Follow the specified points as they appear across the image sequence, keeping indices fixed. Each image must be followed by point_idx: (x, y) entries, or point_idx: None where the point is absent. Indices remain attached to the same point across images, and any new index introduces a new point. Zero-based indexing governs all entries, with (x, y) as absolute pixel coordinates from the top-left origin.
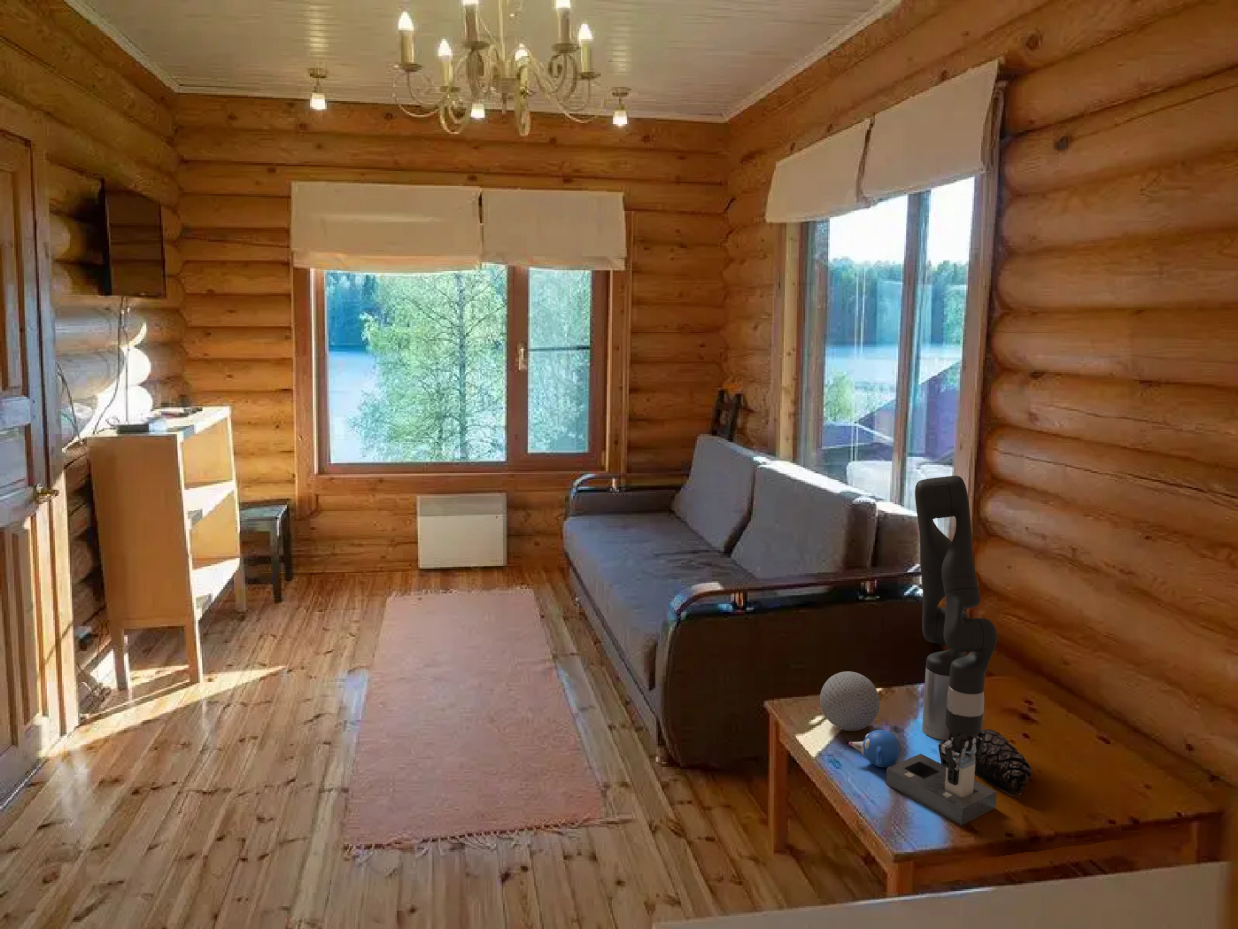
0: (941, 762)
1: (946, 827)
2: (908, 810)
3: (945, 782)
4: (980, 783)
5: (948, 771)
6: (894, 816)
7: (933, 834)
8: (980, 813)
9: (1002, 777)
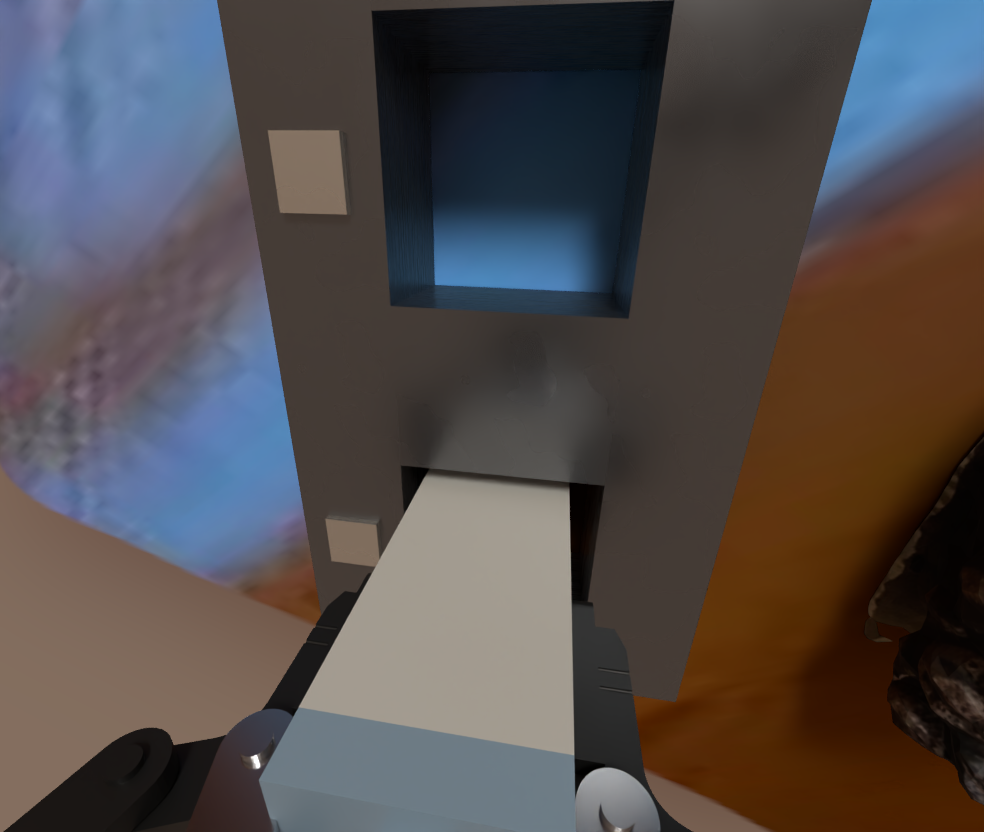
0: (62, 791)
1: (301, 533)
2: (231, 334)
3: (403, 518)
4: (700, 610)
5: (284, 681)
6: (122, 322)
7: (210, 523)
8: None
9: (960, 646)
